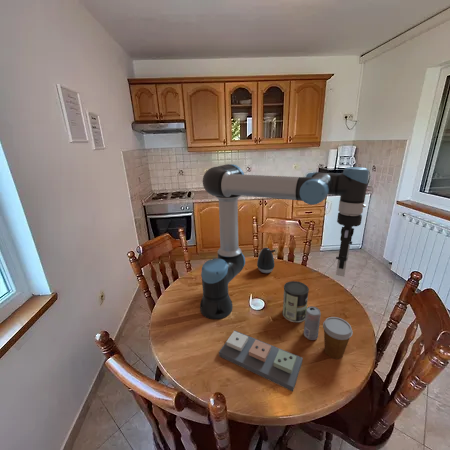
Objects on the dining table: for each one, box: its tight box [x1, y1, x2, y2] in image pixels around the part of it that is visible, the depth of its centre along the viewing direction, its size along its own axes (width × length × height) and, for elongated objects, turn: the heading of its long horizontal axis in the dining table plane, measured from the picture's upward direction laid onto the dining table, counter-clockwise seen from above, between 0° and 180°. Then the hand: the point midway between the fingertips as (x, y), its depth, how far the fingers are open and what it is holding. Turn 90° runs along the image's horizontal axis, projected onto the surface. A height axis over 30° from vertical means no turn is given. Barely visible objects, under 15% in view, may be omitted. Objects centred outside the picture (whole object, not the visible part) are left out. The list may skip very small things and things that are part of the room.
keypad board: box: [218, 330, 303, 392], centre depth 85 cm, size 27×12×2 cm, turn 60°
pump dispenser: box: [256, 247, 276, 274], centre depth 140 cm, size 10×10×15 cm
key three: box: [273, 348, 298, 374], centre depth 80 cm, size 6×6×4 cm
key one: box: [225, 330, 249, 351], centre depth 88 cm, size 6×6×4 cm
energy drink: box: [303, 305, 322, 341], centre depth 93 cm, size 5×5×12 cm
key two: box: [249, 339, 271, 362], centre depth 84 cm, size 6×6×4 cm
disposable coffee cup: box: [322, 316, 354, 360], centre depth 85 cm, size 10×10×12 cm
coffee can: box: [282, 280, 310, 323], centre depth 104 cm, size 10×10×14 cm
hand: (342, 267), depth 90 cm, fingers open, 13 cm apart
